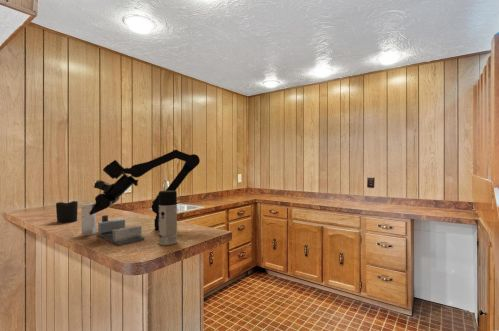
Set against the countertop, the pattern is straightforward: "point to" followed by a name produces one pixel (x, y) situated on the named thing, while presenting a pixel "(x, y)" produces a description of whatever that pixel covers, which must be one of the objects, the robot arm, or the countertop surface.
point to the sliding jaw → (110, 224)
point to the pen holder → (66, 212)
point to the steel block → (88, 219)
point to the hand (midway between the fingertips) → (93, 212)
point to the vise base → (110, 238)
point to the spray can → (167, 217)
